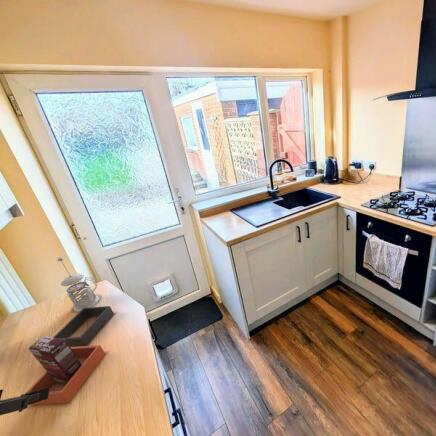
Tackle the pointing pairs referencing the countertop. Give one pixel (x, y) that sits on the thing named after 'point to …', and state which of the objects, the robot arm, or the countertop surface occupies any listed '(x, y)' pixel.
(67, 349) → the supplement box
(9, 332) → the countertop surface
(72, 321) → the right crate
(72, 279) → the french press
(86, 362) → the left crate
